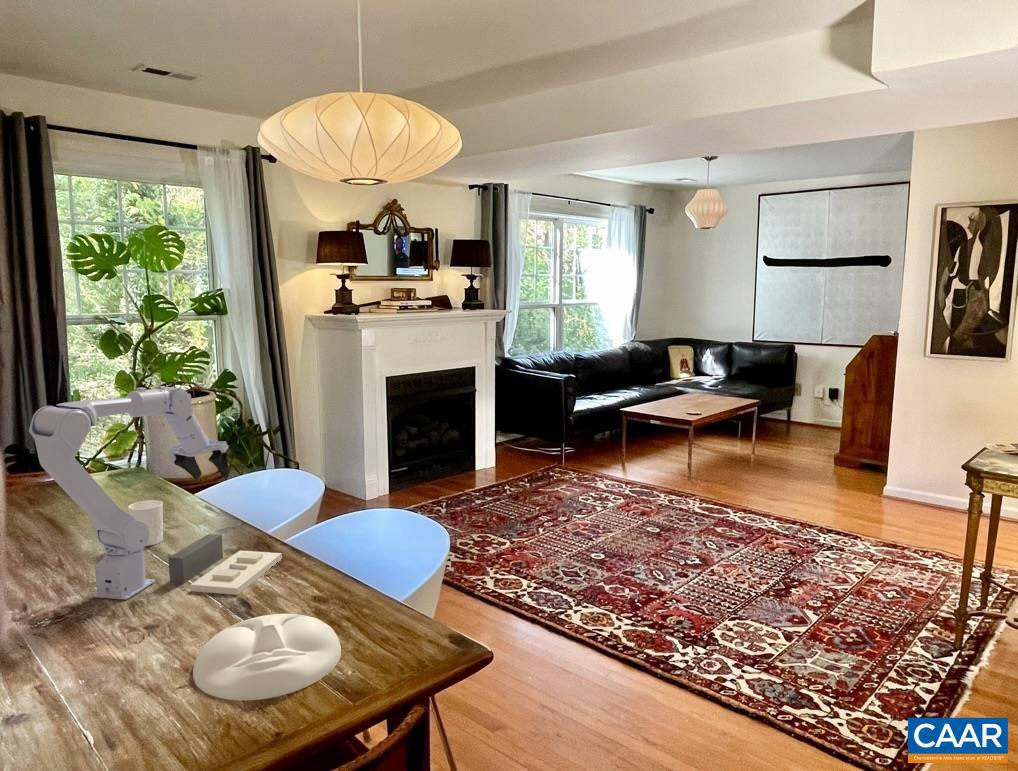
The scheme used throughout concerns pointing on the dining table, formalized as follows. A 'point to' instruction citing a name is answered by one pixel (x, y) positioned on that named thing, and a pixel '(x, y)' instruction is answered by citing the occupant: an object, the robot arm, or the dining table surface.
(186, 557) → the matte grey box
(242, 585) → the plate
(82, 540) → the dining table surface
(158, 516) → the white cup
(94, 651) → the dining table surface
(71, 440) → the robot arm
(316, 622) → the theatrical mask
